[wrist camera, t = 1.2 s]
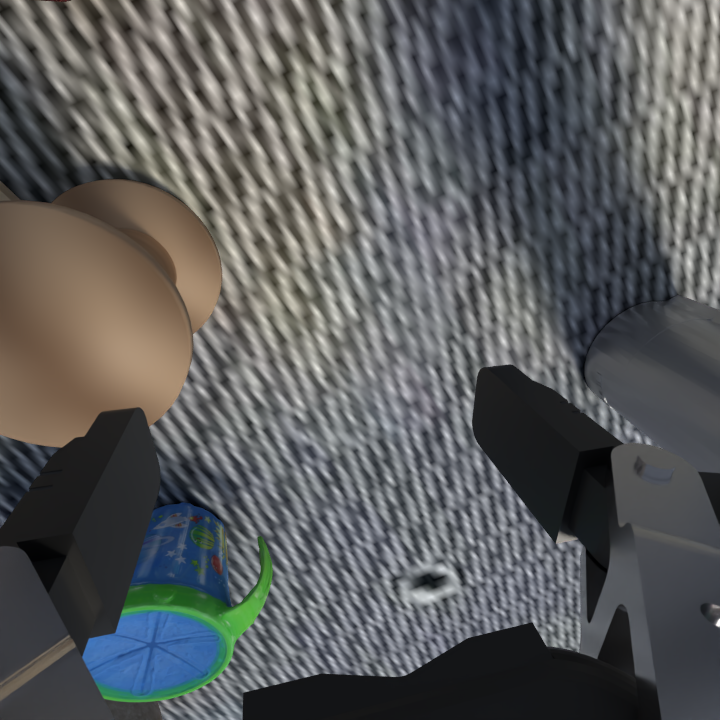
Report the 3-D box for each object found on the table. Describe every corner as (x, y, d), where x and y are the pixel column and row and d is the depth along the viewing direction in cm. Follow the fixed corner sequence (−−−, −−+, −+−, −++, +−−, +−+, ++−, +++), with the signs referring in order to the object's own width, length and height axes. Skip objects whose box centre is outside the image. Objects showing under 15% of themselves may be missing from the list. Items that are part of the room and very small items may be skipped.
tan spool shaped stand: (132, 139, 23) (21, 136, 13) (255, 284, 27) (241, 361, 18) (1, 249, 24) (-188, 320, 14) (139, 369, 29) (68, 484, 19)
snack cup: (262, 469, 34) (255, 583, 25) (282, 554, 39) (283, 675, 30) (59, 502, 32) (-26, 639, 24) (107, 587, 37) (52, 727, 28)
